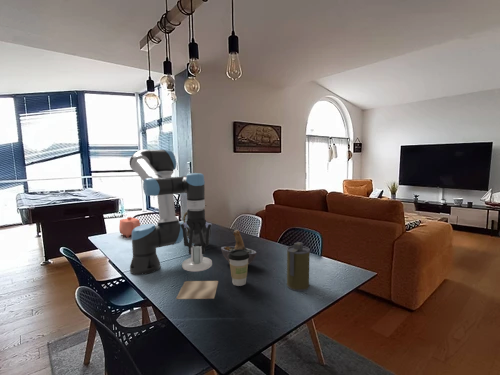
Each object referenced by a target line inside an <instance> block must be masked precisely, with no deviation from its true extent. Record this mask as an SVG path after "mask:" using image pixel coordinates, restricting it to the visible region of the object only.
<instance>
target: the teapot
mask: <svg viewBox="0 0 500 375" xmlns="http://www.w3.org/2000/svg"><path fill="white" fill-rule="evenodd" d="M138 226H141V222H140V220H139V219H138V218H136V217H133V216H128V217H127V218H123V219H120V220H119V234H121V235H122V236H123V237H125V238H130V237H131V236H132V230H133V229H134V228H136V227H138Z"/></svg>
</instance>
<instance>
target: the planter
mask: <svg viewBox="0 0 500 375" xmlns="http://www.w3.org/2000/svg"><path fill="white" fill-rule="evenodd" d="M233 236H234V239H235V246H221V247H220V250H221V253H222V255H223V257H224V259H225V260H226V261H227V262H228V263H229V264H230V260H229V258H228V256H229V254H230V252H231V251H233V250H238V249H241V250H246V251H247V252H248V254H249V258H248V265H249V264H251V263H252V262H253V261H254V259H255V258H256V256H257V251H256V250H253V249H251V248H247V247H245V243H244V240H243V237H242V235H241V231H239V229H235V230H233Z"/></svg>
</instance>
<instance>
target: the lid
mask: <svg viewBox="0 0 500 375" xmlns="http://www.w3.org/2000/svg"><path fill="white" fill-rule="evenodd" d="M181 266H182V269H183V270H185V271H187V272H195V273H196V272H203V271H206V270H208V269H210V268H212V266H213V260H212V259H210V258H209V257H205V256H203V261H202V262H200V246H195V247H193V262H191V257H189V258H186V259H185V260H183V261H182V262H181Z"/></svg>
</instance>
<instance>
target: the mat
mask: <svg viewBox="0 0 500 375" xmlns="http://www.w3.org/2000/svg"><path fill="white" fill-rule="evenodd" d="M182 284H183V285H182V286H181V287H180V290H179V291H178V294H177V296H176V298H175V300H196V299H197V300H199V299H200V300H204V299H205V300H209V299H210V300H211V299H213V300H214V299H215V297H216V293H217V289H218V285H219V280H188V281H187V280H185V281H183V283H182Z"/></svg>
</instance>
